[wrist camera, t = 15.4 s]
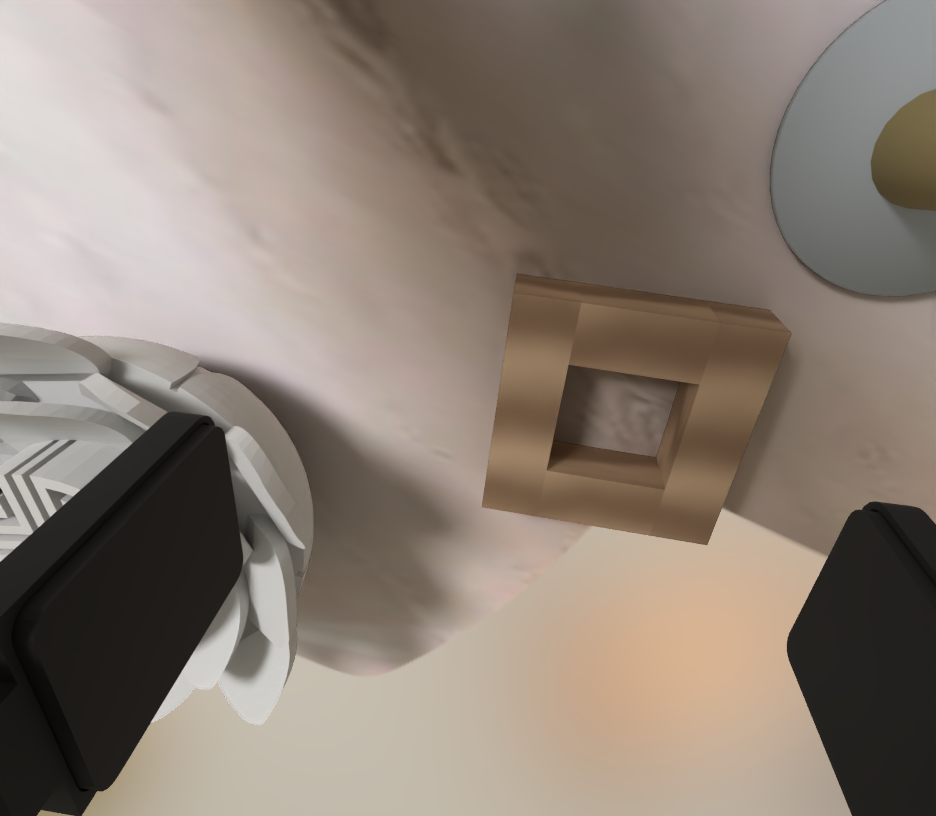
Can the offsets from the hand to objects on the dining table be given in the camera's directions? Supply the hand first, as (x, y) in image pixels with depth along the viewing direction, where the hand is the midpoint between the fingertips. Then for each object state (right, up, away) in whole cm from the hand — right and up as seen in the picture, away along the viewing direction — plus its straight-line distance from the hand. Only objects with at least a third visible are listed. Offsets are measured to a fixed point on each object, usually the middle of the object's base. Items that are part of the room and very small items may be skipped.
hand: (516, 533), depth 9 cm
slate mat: (+24, +16, +23) cm, 37 cm away
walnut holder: (+10, +2, +33) cm, 34 cm away
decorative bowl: (-23, 0, +39) cm, 46 cm away
